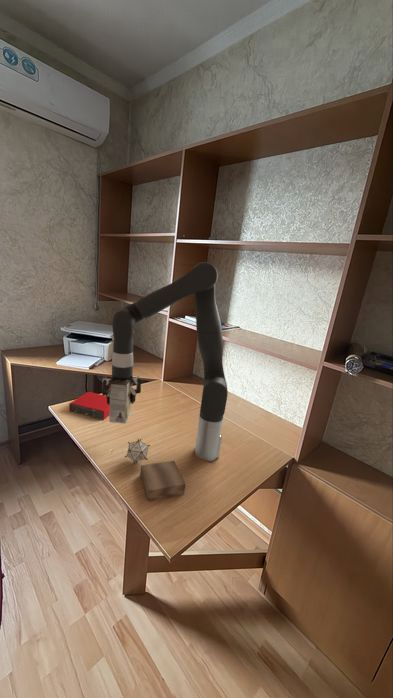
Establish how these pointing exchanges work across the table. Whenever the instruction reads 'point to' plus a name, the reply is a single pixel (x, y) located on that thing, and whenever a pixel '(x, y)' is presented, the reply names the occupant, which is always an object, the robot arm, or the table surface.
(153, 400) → the table surface
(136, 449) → the game die
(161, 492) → the walnut plinth
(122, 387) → the coffee box
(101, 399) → the red device housing
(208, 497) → the table surface
